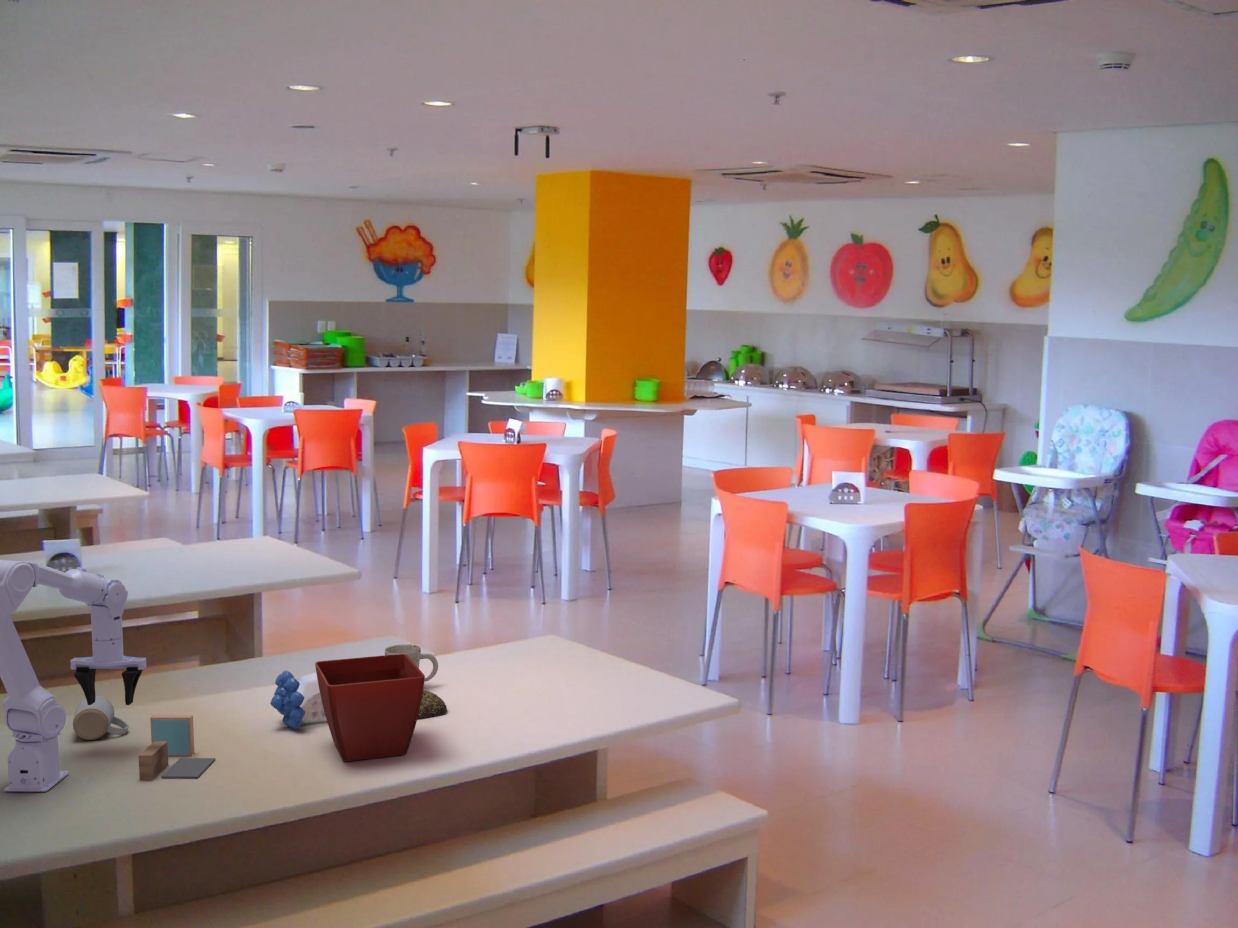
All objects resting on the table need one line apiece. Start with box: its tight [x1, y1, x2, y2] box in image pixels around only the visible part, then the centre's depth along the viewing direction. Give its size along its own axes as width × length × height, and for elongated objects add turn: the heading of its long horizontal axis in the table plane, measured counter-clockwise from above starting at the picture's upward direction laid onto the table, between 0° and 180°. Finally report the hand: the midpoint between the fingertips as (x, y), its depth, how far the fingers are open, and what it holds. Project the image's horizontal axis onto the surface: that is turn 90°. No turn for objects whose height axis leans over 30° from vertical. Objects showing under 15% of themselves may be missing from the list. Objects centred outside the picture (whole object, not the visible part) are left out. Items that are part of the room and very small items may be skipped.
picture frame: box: [149, 714, 195, 757], centre depth 253 cm, size 2×8×8 cm, turn 89°
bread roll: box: [417, 689, 448, 720], centre depth 281 cm, size 13×12×5 cm
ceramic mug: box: [72, 694, 130, 741], centre depth 265 cm, size 11×8×8 cm
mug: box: [384, 643, 439, 683], centre depth 297 cm, size 8×13×10 cm, turn 115°
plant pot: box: [314, 654, 426, 762], centre depth 255 cm, size 19×19×17 cm
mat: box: [160, 757, 216, 780], centre depth 245 cm, size 10×7×1 cm
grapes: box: [269, 670, 306, 730], centre depth 269 cm, size 12×7×12 cm, turn 37°
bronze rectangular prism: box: [138, 741, 169, 782], centre depth 243 cm, size 8×2×5 cm, turn 179°
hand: (110, 703), depth 254 cm, fingers open, 7 cm apart
